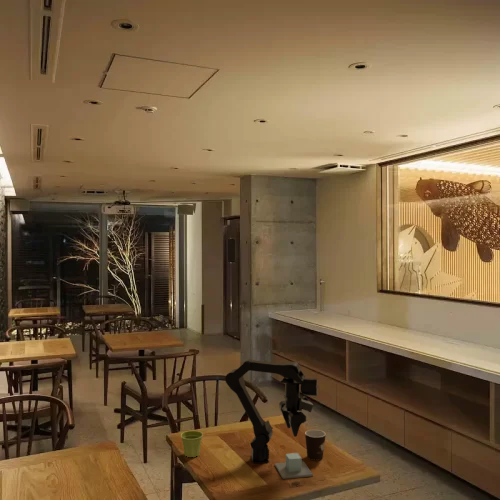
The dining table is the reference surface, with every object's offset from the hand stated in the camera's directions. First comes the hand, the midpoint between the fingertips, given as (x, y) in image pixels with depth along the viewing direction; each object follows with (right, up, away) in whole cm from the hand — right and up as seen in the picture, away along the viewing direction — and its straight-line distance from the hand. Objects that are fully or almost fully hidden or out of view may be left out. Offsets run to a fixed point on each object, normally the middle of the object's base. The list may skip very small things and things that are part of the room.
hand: (292, 432), depth 209 cm
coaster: (0, -13, -6) cm, 14 cm away
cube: (0, -12, -6) cm, 14 cm away
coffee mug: (+12, -13, +8) cm, 19 cm away
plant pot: (-42, -13, +8) cm, 44 cm away
